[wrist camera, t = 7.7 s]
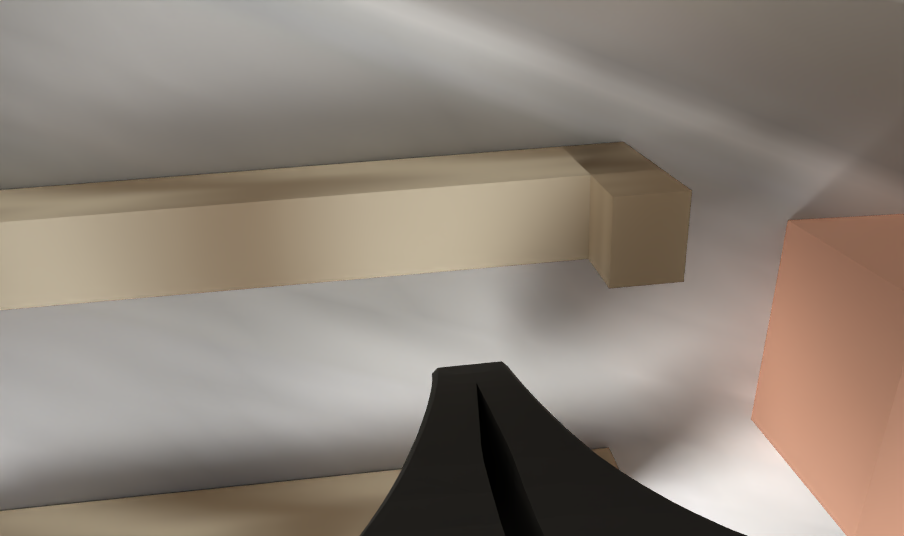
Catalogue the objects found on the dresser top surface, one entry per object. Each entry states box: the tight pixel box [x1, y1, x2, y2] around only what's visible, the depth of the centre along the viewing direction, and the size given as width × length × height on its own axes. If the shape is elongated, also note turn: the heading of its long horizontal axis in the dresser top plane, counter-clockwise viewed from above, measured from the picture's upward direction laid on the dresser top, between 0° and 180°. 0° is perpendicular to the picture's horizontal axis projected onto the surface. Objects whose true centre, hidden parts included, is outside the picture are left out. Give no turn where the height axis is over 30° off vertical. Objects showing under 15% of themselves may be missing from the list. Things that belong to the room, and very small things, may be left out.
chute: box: [0, 142, 692, 536], centre depth 13 cm, size 15×9×3 cm, turn 93°
